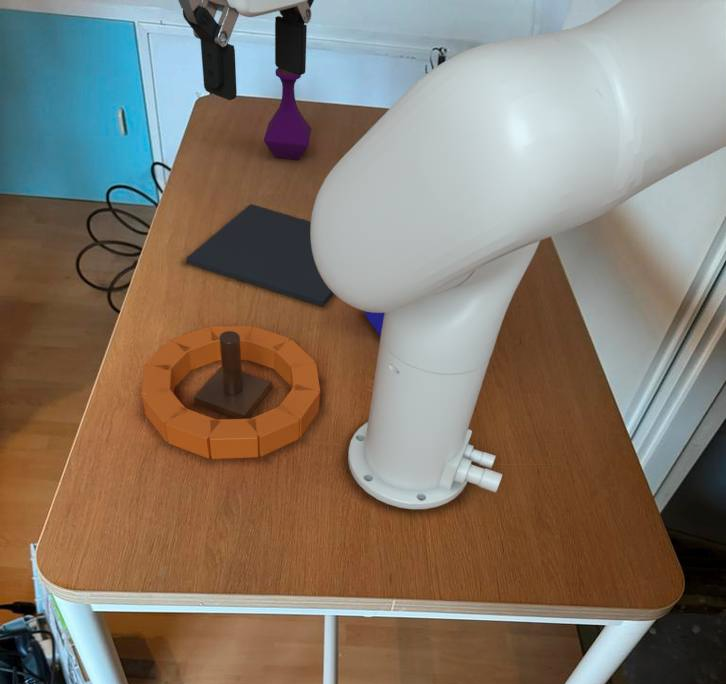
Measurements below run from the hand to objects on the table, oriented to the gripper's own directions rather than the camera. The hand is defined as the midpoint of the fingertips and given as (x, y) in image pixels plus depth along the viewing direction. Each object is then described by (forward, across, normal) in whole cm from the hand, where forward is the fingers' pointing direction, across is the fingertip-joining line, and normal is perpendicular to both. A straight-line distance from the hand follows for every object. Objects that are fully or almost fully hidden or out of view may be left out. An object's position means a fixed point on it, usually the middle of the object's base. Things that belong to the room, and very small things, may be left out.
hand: (257, 82), depth 58 cm
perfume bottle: (+27, +42, +29) cm, 57 cm away
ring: (+27, -12, -6) cm, 30 cm away
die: (+27, +11, -12) cm, 31 cm away
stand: (+27, -12, -6) cm, 30 cm away
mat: (+27, +15, +9) cm, 32 cm away
